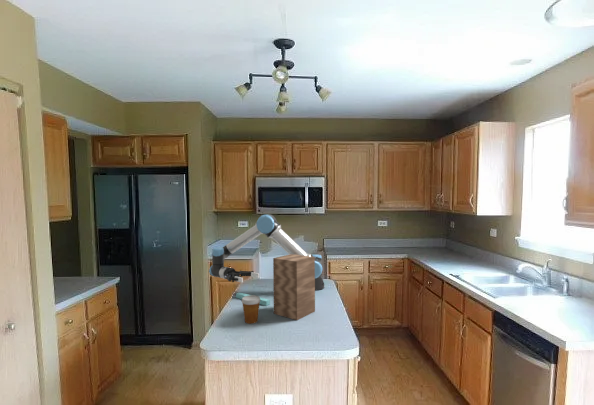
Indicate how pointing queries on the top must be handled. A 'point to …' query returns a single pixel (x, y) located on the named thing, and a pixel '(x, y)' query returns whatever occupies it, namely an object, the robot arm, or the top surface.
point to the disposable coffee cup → (251, 308)
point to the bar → (262, 300)
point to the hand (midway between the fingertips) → (250, 278)
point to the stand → (294, 286)
